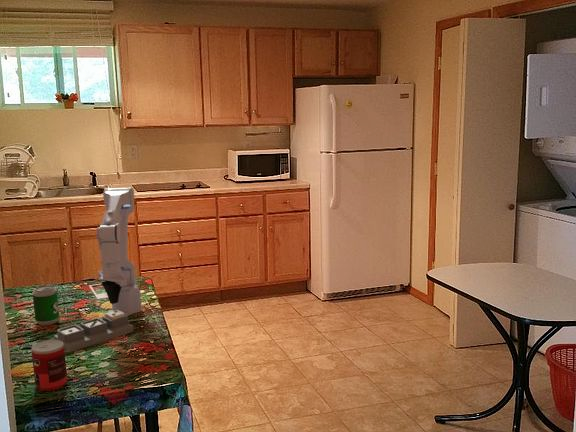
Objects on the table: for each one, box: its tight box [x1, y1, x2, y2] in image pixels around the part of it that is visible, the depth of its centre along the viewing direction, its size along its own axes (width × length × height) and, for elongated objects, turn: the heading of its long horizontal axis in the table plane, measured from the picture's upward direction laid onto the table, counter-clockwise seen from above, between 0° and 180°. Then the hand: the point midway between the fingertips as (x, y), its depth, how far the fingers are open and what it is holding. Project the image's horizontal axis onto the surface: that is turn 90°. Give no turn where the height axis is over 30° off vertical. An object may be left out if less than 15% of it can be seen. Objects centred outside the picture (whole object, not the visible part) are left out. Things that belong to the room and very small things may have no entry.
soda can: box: [32, 284, 60, 326], centre depth 197 cm, size 8×8×12 cm
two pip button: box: [104, 310, 125, 320], centre depth 190 cm, size 4×4×2 cm
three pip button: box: [85, 321, 102, 327], centre depth 185 cm, size 4×4×2 cm
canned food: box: [31, 339, 68, 392], centre depth 154 cm, size 8×8×11 cm
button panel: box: [53, 315, 134, 353], centre depth 185 cm, size 21×11×5 cm, turn 135°
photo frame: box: [88, 283, 109, 301], centre depth 230 cm, size 15×1×18 cm
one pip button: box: [61, 327, 79, 334], centre depth 180 cm, size 4×4×2 cm
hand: (114, 302), depth 189 cm, fingers closed
